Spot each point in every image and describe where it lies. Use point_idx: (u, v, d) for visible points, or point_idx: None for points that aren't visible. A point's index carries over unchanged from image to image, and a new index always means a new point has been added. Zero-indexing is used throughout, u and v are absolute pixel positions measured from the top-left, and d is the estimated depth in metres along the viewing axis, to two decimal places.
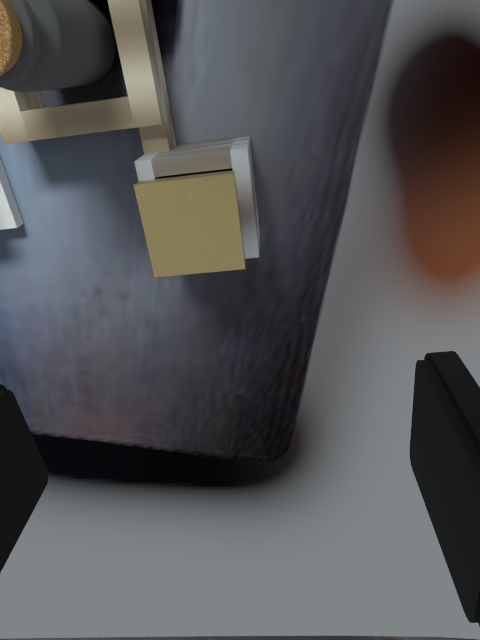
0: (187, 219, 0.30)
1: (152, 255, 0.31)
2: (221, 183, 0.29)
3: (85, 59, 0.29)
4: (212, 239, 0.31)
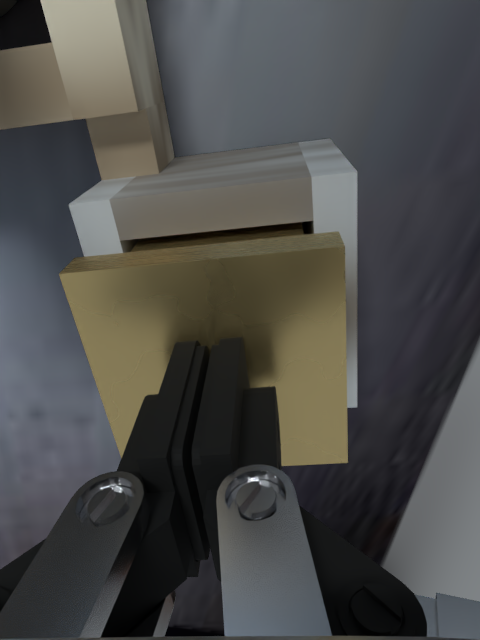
0: None
1: (118, 432, 0.13)
2: (306, 271, 0.10)
3: None
4: None
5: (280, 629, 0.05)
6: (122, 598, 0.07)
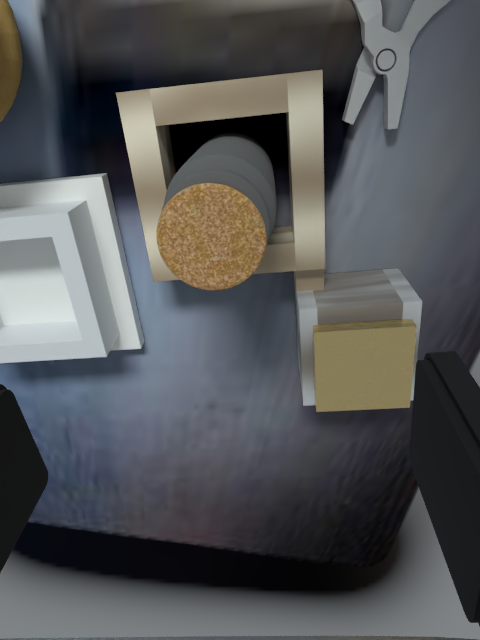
0: (361, 363, 0.30)
1: (318, 393, 0.32)
2: (402, 334, 0.29)
3: None
4: (382, 381, 0.31)
5: None
6: None
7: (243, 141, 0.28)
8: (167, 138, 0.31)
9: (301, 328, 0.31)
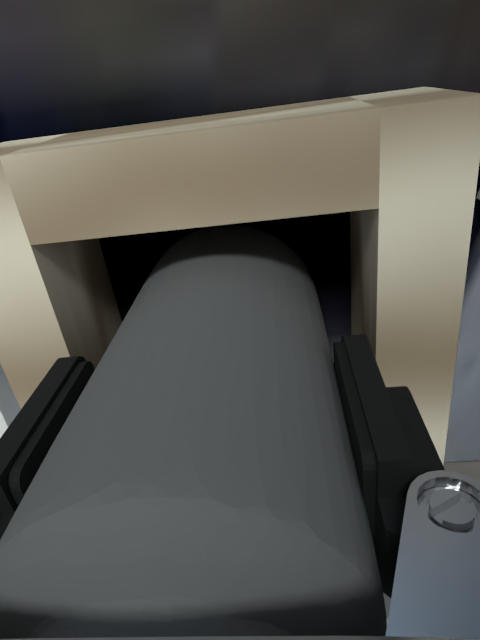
0: None
1: None
2: None
3: None
4: None
5: None
6: None
7: (256, 281, 0.11)
8: (86, 243, 0.14)
9: None
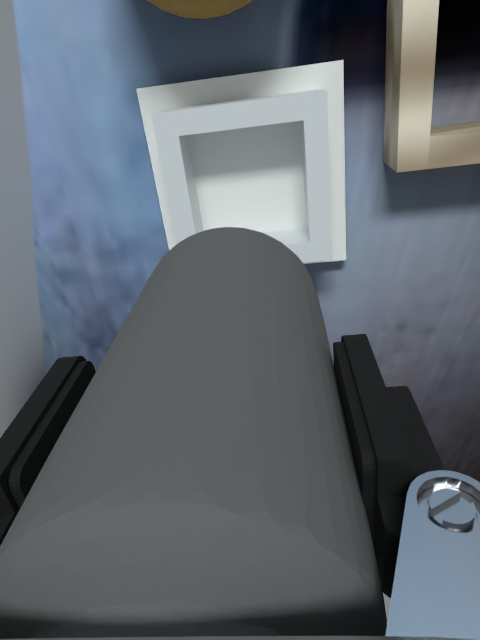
0: None
1: None
2: None
3: None
4: None
5: None
6: None
7: (256, 284, 0.11)
8: None
9: None
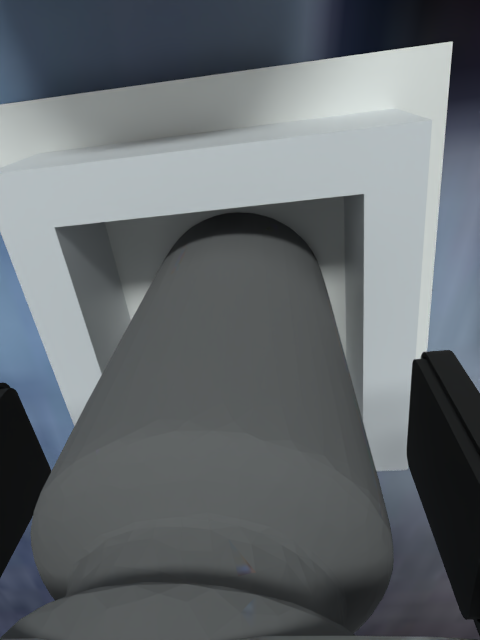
0: None
1: None
2: None
3: None
4: None
5: None
6: None
7: (269, 261, 0.11)
8: None
9: None
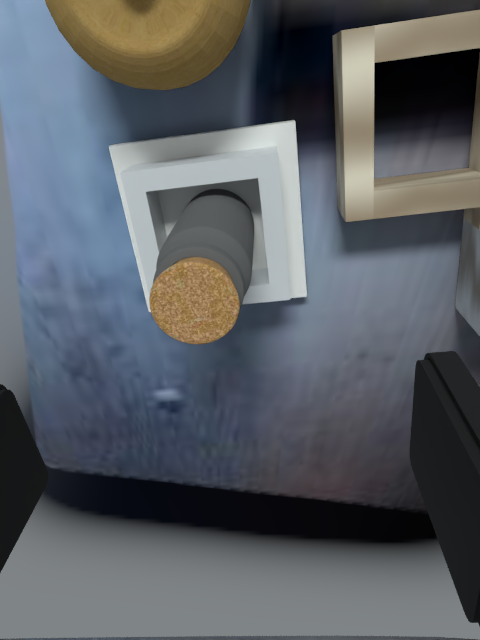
0: None
1: None
2: None
3: None
4: None
5: None
6: None
7: (225, 202, 0.32)
8: None
9: None
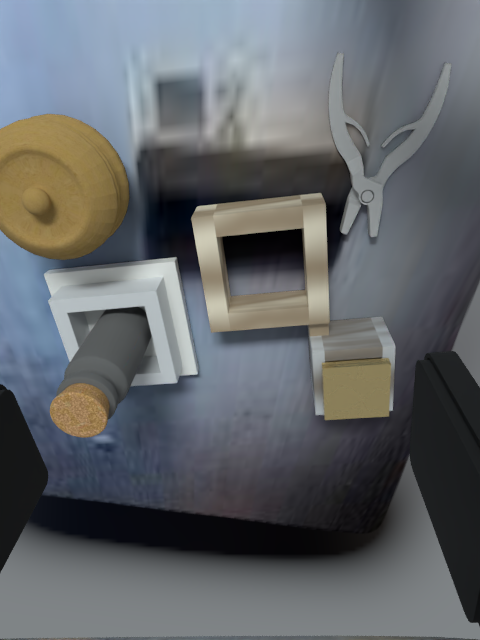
0: (354, 388, 0.45)
1: (326, 407, 0.46)
2: (381, 368, 0.44)
3: None
4: (369, 399, 0.45)
5: None
6: None
7: (121, 322, 0.45)
8: (220, 237, 0.45)
9: (313, 364, 0.46)
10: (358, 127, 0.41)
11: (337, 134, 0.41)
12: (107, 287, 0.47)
